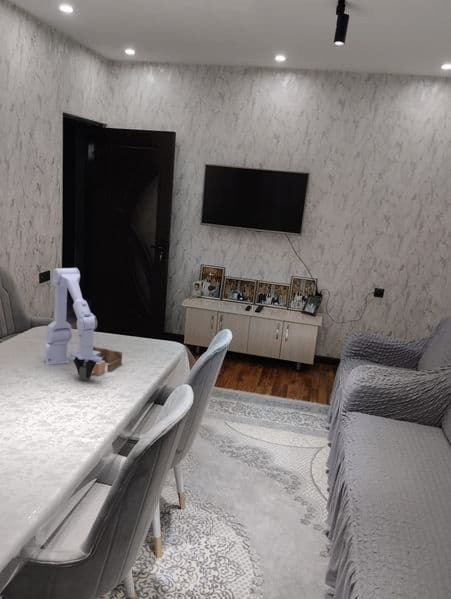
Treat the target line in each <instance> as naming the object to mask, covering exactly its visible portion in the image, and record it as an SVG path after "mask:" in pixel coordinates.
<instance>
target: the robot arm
mask: <svg viewBox="0 0 451 599" xmlns="http://www.w3.org/2000/svg"><path fill="white" fill-rule="evenodd" d="M51 274H52V276H51V283H52V286H54V314H53V315H54V319H53V321H52V322H50V323H49V324H48V325H47V328H46V329H47V330H46V333H45V337H46V340H47V342H45V343H44V344H45V345H44V360H45V363H46V365H49V366H50V365H58V364H59V365H60V364H69V363H70V361H69V359H68V357H69V358H74V359H73V360H72V362H73V363H74V365H75V367H76V370H77V374H78V376H79V368H80V367H81V366H83V365H86V377H87V378H89V377H90V378H91V377H92V374H91V373H92V370H93V368H94V366H95V364H96V363H101V362H102V357H99V356H96V355H94V354H93V346H94V336H95V330H96V329H97V327H98V320H97V317H96V315H94V313H92V312H91V310H90V307H89V304H88V302H87V300H85V299H84V298H83V294H82V291H81V288H80V280H81V273H80V270H79V269H78V267H63V268H61V267H60V268H57V267H55V268H54V270H53V271H52V273H51ZM68 292H69V294H70V296H71V298H72V300H73V304H72V307H73V311H74V313H75V317H76V319H77V320H76V329H77V334H78V350H77V351H75V350H70V351H68V344H69V343H70V341H71V339H72V338H73V331H72V325H71V324H70V323H69V322H68V321H67V307H68V306H67V305H68V304H67V302H68ZM85 360H88V361H87V362H84V361H85Z"/></svg>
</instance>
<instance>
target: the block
mask: <svg viewBox="0 0 451 599" xmlns="http://www.w3.org/2000/svg"><path fill="white" fill-rule="evenodd" d="M93 354H94V355H96V356H99V357H101V352H99V351H94V350H93ZM87 361H88V360H85V362H87ZM85 362H84V363H85Z"/></svg>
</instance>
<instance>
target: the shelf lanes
mask: <svg viewBox="0 0 451 599" xmlns="http://www.w3.org/2000/svg"><path fill="white" fill-rule="evenodd" d="M93 350H94V351H99V352H101V357H102V360H103V361H105V363H108V364H107V372H109V373H110V372H112V371H114V370H115V369H117V368H119V367H121V366H122V363H123V362H122V361H123V351H118V350H114V349H113V350H112V349H108V348H104V347H98V346H94V345H93ZM84 363H85V361H84Z"/></svg>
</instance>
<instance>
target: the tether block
mask: <svg viewBox="0 0 451 599" xmlns="http://www.w3.org/2000/svg"><path fill="white" fill-rule="evenodd" d="M105 370H106V362H105V361H103V360H102V362H101V363H96V364H95V366H94V368H93V370H92V373H91V375H95V376H101V374H103V373H105ZM90 379H91V376H90V377H89V378H87V377H86V365H85V364H84V365H83V366H81V367H80V368H79V375H78V380H79V381H84V382H87V381H90Z"/></svg>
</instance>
